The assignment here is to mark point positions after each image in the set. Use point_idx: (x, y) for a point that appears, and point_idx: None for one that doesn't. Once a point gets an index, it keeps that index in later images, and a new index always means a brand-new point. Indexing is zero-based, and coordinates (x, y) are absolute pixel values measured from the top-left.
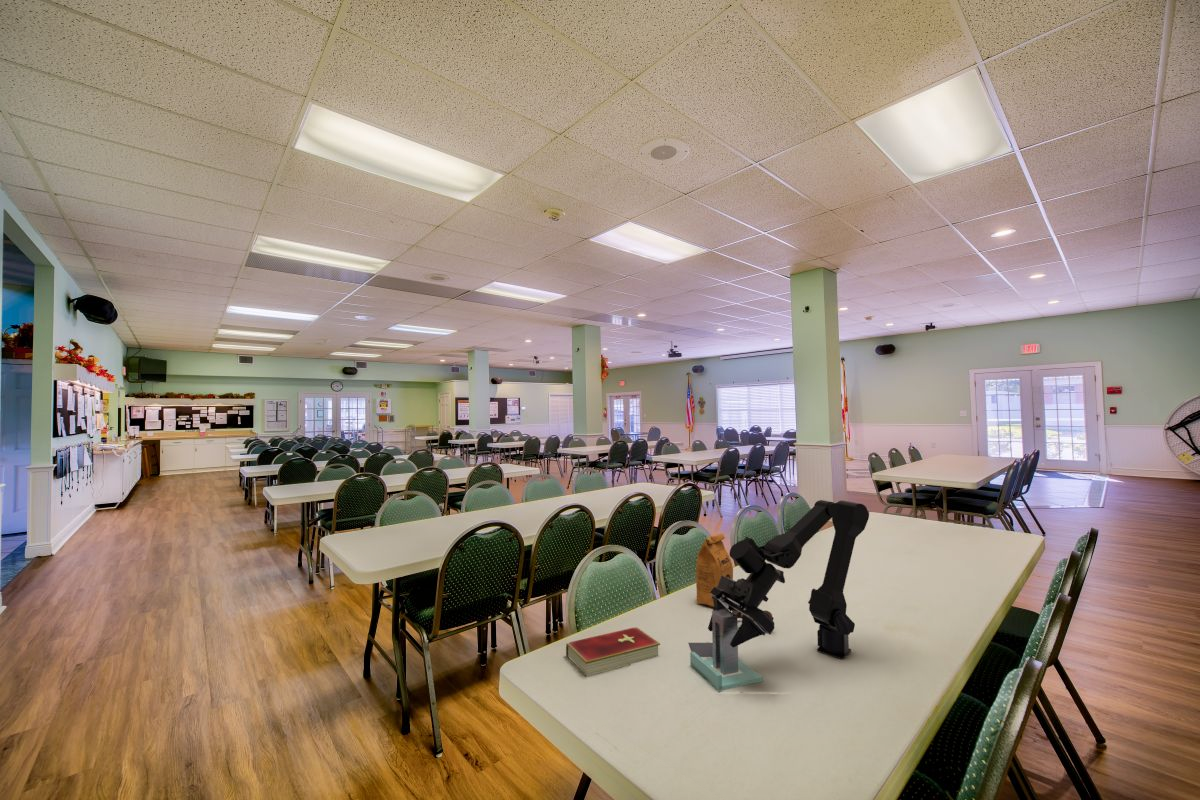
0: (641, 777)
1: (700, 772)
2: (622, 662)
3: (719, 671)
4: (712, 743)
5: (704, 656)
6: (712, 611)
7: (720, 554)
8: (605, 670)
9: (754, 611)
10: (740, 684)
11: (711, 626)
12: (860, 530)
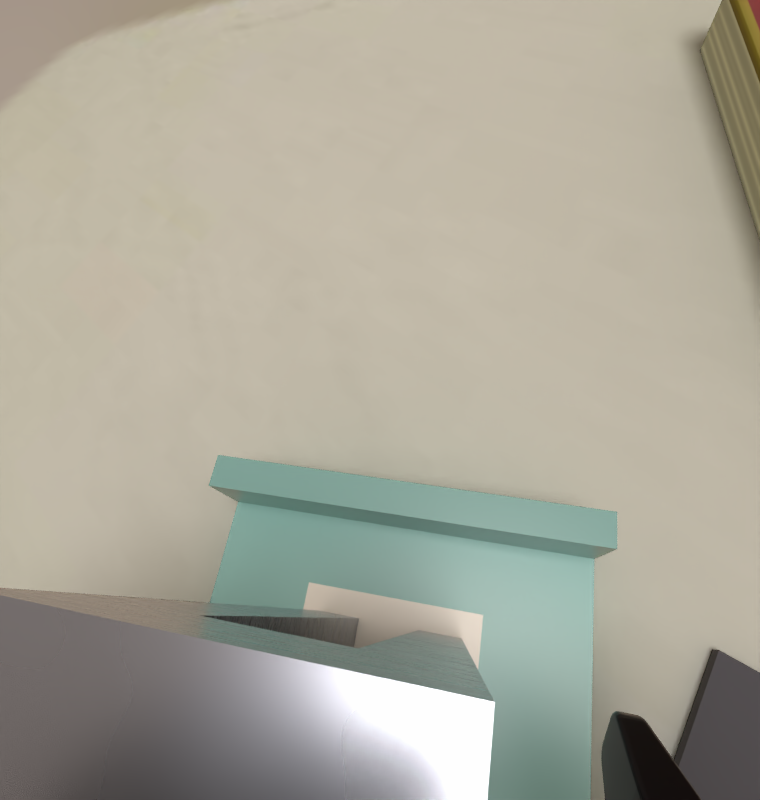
0: (113, 43)
1: (13, 154)
2: (757, 176)
3: (374, 622)
4: (55, 242)
5: (691, 752)
6: (459, 690)
7: None
8: (722, 115)
9: None
10: None
11: (621, 781)
12: None
